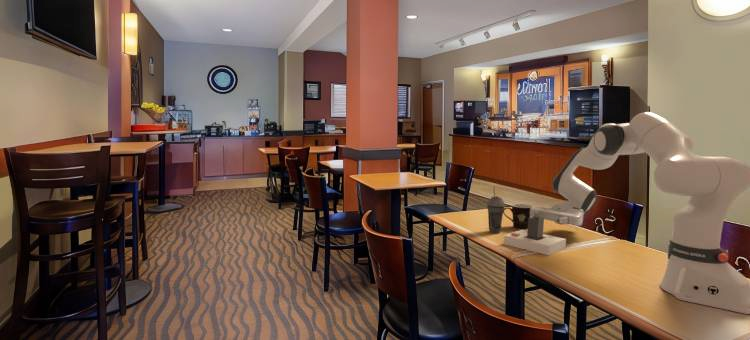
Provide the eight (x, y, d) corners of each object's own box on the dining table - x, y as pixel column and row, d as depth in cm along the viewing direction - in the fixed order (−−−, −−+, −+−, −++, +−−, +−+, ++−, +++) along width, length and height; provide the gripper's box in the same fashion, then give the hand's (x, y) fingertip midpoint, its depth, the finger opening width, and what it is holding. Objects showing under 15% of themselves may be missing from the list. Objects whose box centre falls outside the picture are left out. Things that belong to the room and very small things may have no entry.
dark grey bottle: (542, 246, 167) (544, 213, 165) (536, 248, 164) (538, 214, 162) (532, 243, 170) (534, 211, 168) (526, 245, 166) (528, 212, 165)
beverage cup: (504, 234, 182) (506, 188, 179) (486, 233, 183) (488, 187, 181) (502, 230, 189) (505, 185, 186) (485, 229, 190) (487, 184, 188)
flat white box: (565, 247, 165) (566, 236, 164) (548, 255, 155) (549, 243, 155) (521, 237, 178) (522, 227, 177) (503, 244, 168) (504, 233, 168)
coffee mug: (534, 227, 194) (535, 206, 193) (525, 231, 188) (527, 208, 187) (509, 223, 202) (511, 202, 201) (501, 226, 196) (502, 204, 195)
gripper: (538, 202, 189) (523, 206, 179) (587, 210, 174) (573, 215, 165) (537, 216, 190) (522, 221, 180) (586, 225, 175) (571, 231, 165)
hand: (546, 218), depth 172 cm, fingers open, 8 cm apart
